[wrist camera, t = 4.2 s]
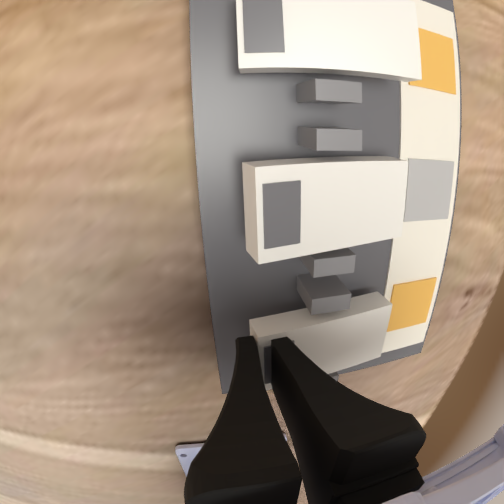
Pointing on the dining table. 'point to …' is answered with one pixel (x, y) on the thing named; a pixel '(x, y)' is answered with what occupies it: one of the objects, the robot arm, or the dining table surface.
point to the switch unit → (324, 145)
